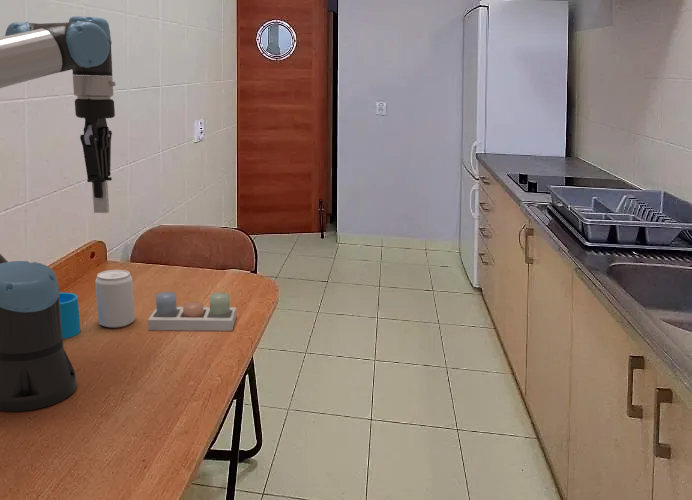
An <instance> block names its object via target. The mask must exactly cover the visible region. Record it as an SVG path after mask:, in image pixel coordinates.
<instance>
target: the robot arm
mask: <svg viewBox="0 0 692 500" xmlns="http://www.w3.org/2000/svg"><path fill="white" fill-rule="evenodd" d="M4 34H5V35H4V36H0V89H3V88H6V87H9V86H13V85H17V84H21V83H24V82H25V83H26V82H28V81H32V80H36V79H39V78H43V77H46V76H50V75H54V74H58V73H63V72H68V71H72V85H73V86H72V87H73V95H74V96H75V97H77V98H76V99H75V100H74V110H75V116H76V117H77V118H80V119H84V127H83V134H80V136H79V137H80V139H79V140H80V142H81V146H82V152H83V155H84V156H83V157H84V164H85V168H86V170H85V171H86V175H87V176H86V177H87V179H86V181H87V182H88V183H91V188H92V201H93V213H96V214H98V213H99V214H107V213H109V212H110V202H109V186H108V185H109V184H108V182H109V181H110V182H111V181H113V179H112V178H113V177H111V165H112V163H111V155H112V154H111V153H112V150H111V149H112V143H111V142H112V136H113V131H112V130H110V129H109V126H108V122H107V119H113V118H115V116H116V111H115V101H114V99H112V97H113V96H114V87H116V85H117V84H116V81H113V79H114V78H113V64H112V63H113V60H112V59H113V57H112V38H111V37H112V36H111V30H110V25H109V22H108V21H107V19H105V18H101V17H95V16H77V15H75V16H71V17H70V18H69V19H68V21H67V22H49V23H48V22H47V23H46V22H45V23H35V22H34V23H33V22H29V21H25V22H17V21H15V22H12V23H10V24H9V25H8V26H7V28H6V31H5V33H4ZM60 293H61V291H60V285H59V284H58V279H57V274H56V272H55V271H54V269H52V268H51V267H50V266H47V265H46V264H43V263H40V262H36V261H33V262H30V261H28V260H27V261H26V260H16V261H15V260H14V261H12V260H11V261H8V260H7V259H6V258H5V257H4V256H3V255H2V254H1V253H0V411H3V412H25V411H27V412H28V411H35V410H37V409H38V410H39V409H43V408H46V407H51V406H53V405H55V404H58V403H60V402H62V401H64V400H66V399H68V397H70V396H72V394H73V393H75V391H76V390H77V386H78V383H77V374H76V371H75V369H74V367H73V365H72V362H71V361H70V359H69V356H68V354H67V353H66V352H67V351H66V350H65V348H64V339H63V338H62V325H61V312H60V300H59V294H60Z"/></svg>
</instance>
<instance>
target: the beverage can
mask: <svg viewBox="0 0 692 500" xmlns="http://www.w3.org/2000/svg"><path fill="white" fill-rule="evenodd" d="M94 284H95V294H96V296H95V298H96V309H97V321H98V324H99V325H100V326H103V327H106V328H111V329H113V328H122V327H123V328H124V327H126V326H128V325H130V324H131V323H133V322H134V321H135V300H134V299H135V298H134V284H133V277H132V276H131V273H130V271H128V270H124V269H111V270H110V269H109V270H103V271H101V272H98V273H97V276H96V279H95V283H94Z"/></svg>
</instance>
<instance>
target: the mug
mask: <svg viewBox="0 0 692 500" xmlns="http://www.w3.org/2000/svg"><path fill="white" fill-rule="evenodd" d="M59 300H60V312H61V325H62V338H63V340H64V339H69V338H72V337H75V336H77V335H78V334H80V333H81V320H80V309H79V307H80V305H79V296H78V295H77V294H75V293H74V292H73V293H72V292H60V294H59Z"/></svg>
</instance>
